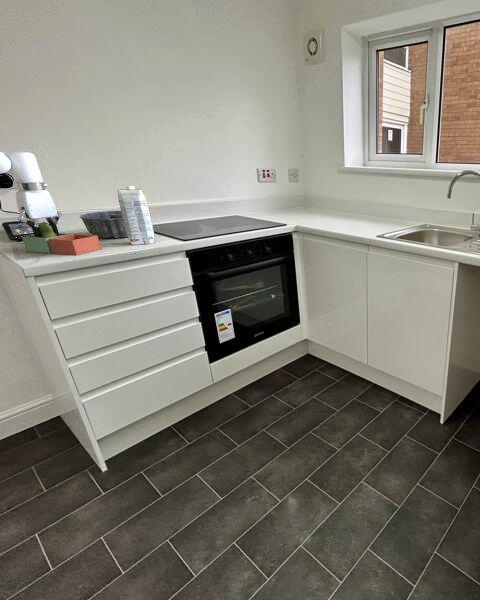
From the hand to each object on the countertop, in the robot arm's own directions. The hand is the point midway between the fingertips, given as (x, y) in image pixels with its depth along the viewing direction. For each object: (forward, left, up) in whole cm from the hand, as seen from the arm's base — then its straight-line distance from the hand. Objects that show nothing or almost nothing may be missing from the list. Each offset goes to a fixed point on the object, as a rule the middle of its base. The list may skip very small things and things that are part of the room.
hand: (47, 235), depth 137 cm
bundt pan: (+31, -1, -6) cm, 32 cm away
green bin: (0, 0, -6) cm, 6 cm away
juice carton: (+19, -23, -6) cm, 30 cm away
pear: (0, 0, -5) cm, 5 cm away
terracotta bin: (0, -12, -6) cm, 13 cm away
